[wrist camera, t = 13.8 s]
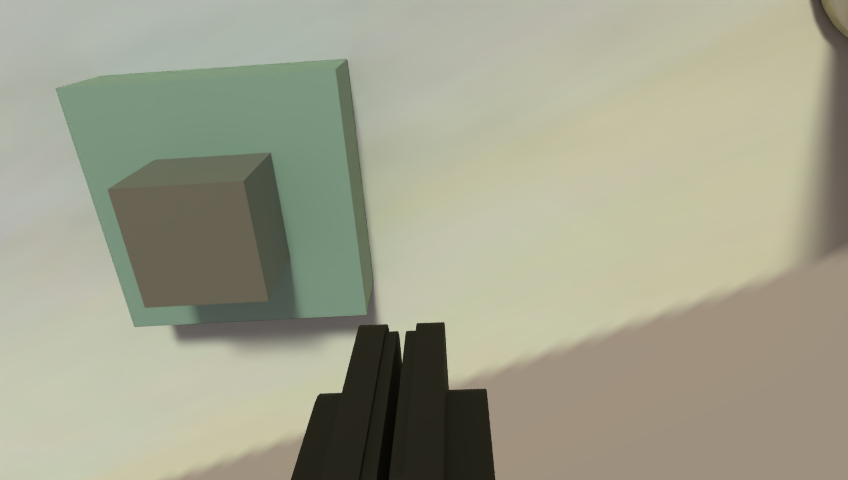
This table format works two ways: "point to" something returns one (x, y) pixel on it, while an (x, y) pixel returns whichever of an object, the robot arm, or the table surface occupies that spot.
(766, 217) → the table surface
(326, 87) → the socket
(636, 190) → the table surface
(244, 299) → the plug
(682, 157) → the table surface
